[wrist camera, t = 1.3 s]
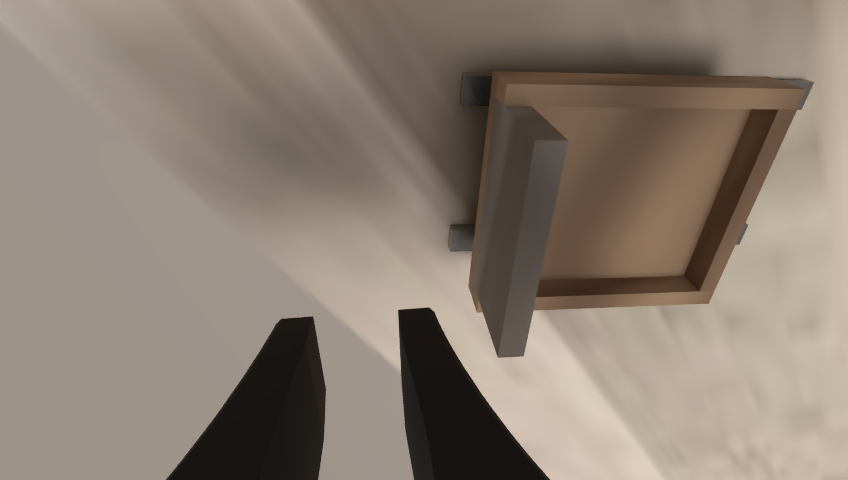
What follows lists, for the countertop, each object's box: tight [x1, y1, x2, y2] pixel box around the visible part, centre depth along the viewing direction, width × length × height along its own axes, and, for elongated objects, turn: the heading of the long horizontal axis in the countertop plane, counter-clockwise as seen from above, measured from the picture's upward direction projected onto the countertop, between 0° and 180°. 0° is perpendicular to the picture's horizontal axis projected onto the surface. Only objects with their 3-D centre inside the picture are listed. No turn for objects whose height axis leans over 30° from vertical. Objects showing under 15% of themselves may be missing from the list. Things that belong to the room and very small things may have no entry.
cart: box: [469, 71, 806, 358], centre depth 15 cm, size 9×8×6 cm
